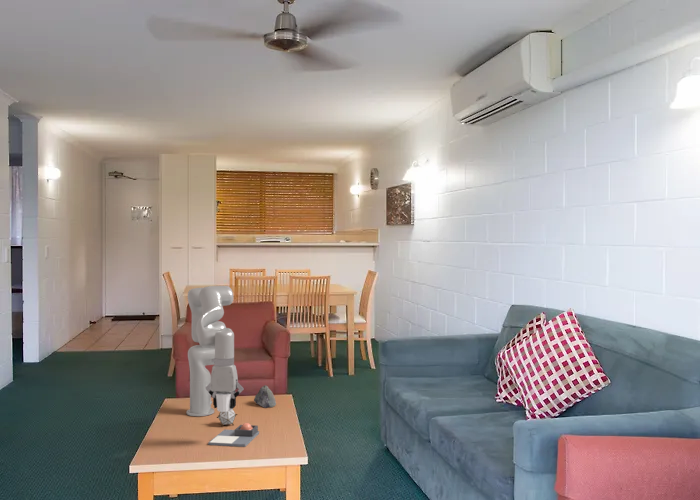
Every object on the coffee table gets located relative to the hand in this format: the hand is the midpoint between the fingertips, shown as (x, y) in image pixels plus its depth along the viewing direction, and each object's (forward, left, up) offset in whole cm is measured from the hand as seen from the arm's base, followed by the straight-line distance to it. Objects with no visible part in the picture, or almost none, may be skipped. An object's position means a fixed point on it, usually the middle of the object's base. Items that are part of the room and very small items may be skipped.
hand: (224, 407), depth 256 cm
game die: (-24, -8, -14) cm, 28 cm away
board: (-5, +2, -14) cm, 15 cm away
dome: (-9, +6, -12) cm, 16 cm away
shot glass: (0, 0, -1) cm, 1 cm away
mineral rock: (-60, -1, -14) cm, 62 cm away
